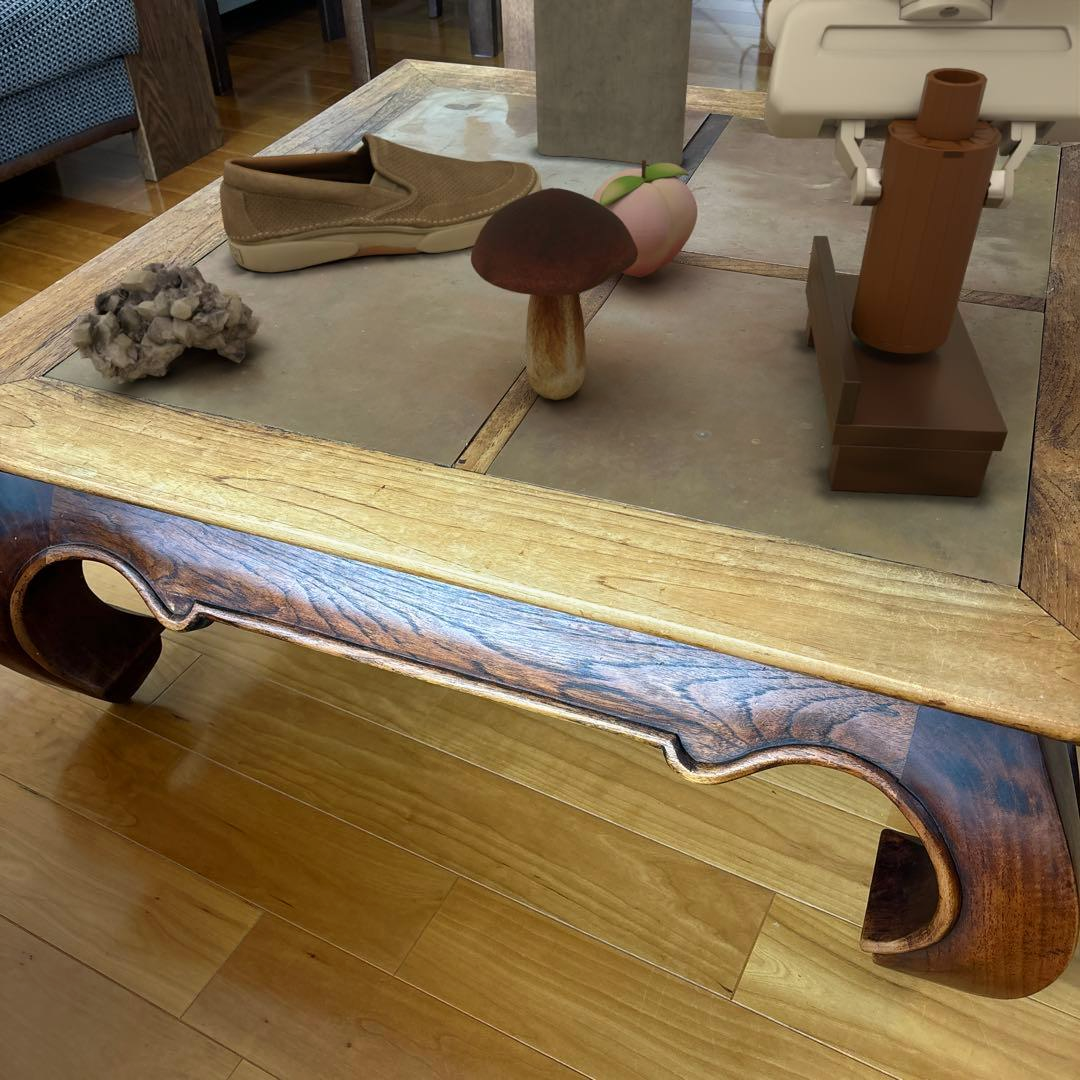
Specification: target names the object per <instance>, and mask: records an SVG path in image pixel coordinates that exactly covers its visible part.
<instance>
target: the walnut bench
mask: <svg viewBox="0 0 1080 1080" xmlns="http://www.w3.org/2000/svg"><path fill="white" fill-rule="evenodd" d="M859 275H860V274H837V272H836V267H835V262H834V258H833V255H832V251H831V246H830V241H829V237H828V236H827V235H814V236H813V239H812V245H811V252H810V260H809V264H808V270H807V278H806V282H805V283H806V284H805V291H804V292H805V297H806V303H807V310H808V312H807V313H808V314H807V318H806V319H807V321H806V327H805V332H804V333H805V339H806V344H807V346H809V347H811V346H812V347H814V349H815V354H816V360H817V361H816V362H817V366H818V372H819V377H820V383H821V389H822V396H823V401H824V406H825V412H826V418H827V423H828V429H829V435H830V440H831V444H832V450H831V455H830V460H829V464H828V465H829V466H828V471H827V472H828V477H829V484H830V489H831V491H849V492H867V493H868V492H870V493H890V494H911V495H912V494H914V495H931V496H932V495H933V496H953V497H954V496H955V497H957V496H958V497H976V498H978V497H979V495H980V493H981V489H982V486H983V483H984V481H985V477H986V475H987V474H986V473H987V470H988V467H989V464H990V461H991V458H992V455H993V452H1002V451H1003V448H1004V446H1005V442H1006V439H1007V435H1008V433H1009V432H1008V428H1007V426H1006V423H1005V421H1004V418H1003V416H1002V413H1001V411H1000V409H999V406H998V404H997V400H996V399H995V396H994V393H993V391H992V388H991V386H990V383H989V381H988V378H987V376H986V373H985V371H984V368H983V367H982V363H981V362H980V359H979V357H978V354H977V352H976V348H975V347H974V344H973V341H972V339H971V336H970V334H969V332H968V329H967V327H966V324H965V321H964V320H963V316H962V314H961V312H960V309H959V307H958V306H957V307H956V311H955V315H954V318H953V322H952V326H951V329H950V331H949V335H948V338H947V340H946V342H945V343H944V344H943V345H942V346H941V347H939V348H937V349H935V350H932V351H929V352H924V353H916V354H902V353H893V352H888V351H884V350H880V349H877V348H874V347H872V346H870V345H868V344H866V343H864V342H863V341H861V340H860V339H858V338H857V337H856V336H855V334H854V333H853V331H852V329H851V321H852V311H853V306H854V301H855V296H856V291H857V285H858V280H859Z"/></svg>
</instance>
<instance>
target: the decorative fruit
mask: <svg viewBox="0 0 1080 1080" xmlns="http://www.w3.org/2000/svg"><path fill="white" fill-rule="evenodd" d="M678 176H687V177H688V176H690V174H689V173H688V172H687V171H686V170H685V169H684V168H683V167H681V165H680V166H678V165H675V164H671V163H657V164H653V165H646V160H642V164H641V168H640V167H638V168H631V169H626V170H622V171H619V172H618V173H616V174H614V175H612V176H611V177H609V178H608V179H606V180H605V181H604V182H603V183H602V184H601V185H600V186H599V187H598V188H597V189H596V191H595V192H594V193H593V196H592V197H591V199H593V200H595V201H596V202H598V203H599V204H601V205H603V206H604V207H606V208H607V209H609V210H610V211H612V212H613V213H614V214H615V215H617V216H618V217H619V218H620V219H621V220H622V222H623V223H624V224H625V226H626V227H627V229H628V231H629V232H630V234H631V236H632V238H633V240H634V242H635V244H636V246H637V250H638V257H637V260H636V262H635V263H634V264H633V265H632V266H631V267H630V268H629V269H627V270H625V271H623V272H621V273H622V274H626V275H628V276H633V277H637V278H643V277H646V276H647V275H650V274H652V273H654V272H655V271H657V270H659V269H661V268H664V267H665V266H666V265H668V264H669V263H670V262H672V261H673V259H675V258H676V257H677V256H678V254H679V253H681V251H682V250H683V248H684V247H685V245H686V244H687V243H688V241H689V239H690V237H691V235H692V234H693V231H694V230H695V228H696V227H695V226H696V224H697V219H698V205H697V202H696V199H695V196H694V194H693V192H692V190H691V189H690V187H689V186H688V185H687V184H686V183H685V182H684V181H683V180H682V179H680V178H679V177H678Z"/></svg>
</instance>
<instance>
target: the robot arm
mask: <svg viewBox="0 0 1080 1080" xmlns="http://www.w3.org/2000/svg"><path fill="white" fill-rule="evenodd" d="M763 24H764V25H763V26H764V27H763V38H764V42H765V44H766V47H767V48H768V49H769V51H770V52H771V53H772V54H773V58H772V62H771V67H770V72H769V77H768V81H767V88H766V93H765V103H764V109H763V110H764V111H763V124H764V126H765V127H766V128H767V129H768V130H769V132H770V133H771V135H773V137H775V138H777V139H806V140H807V139H811V140H814V139H815V140H817V139H819V140H821V139H822V140H834V152H833V153H834V156H835V158H836V159H837V161H838V163H839V164H840V166H841V168H842V170H843V171H844V173H845V174H846V176H847V178H848V180H850V181H851V185H850V186H851V188H850V189H851V190H850V205H851V206H852V207H873V206H876V204H877V202H878V201H879V200H880V197H881V191H882V186H881V184H880V181H881V180H882V168H880V167H869V165H868V163H867V160H866V159H865V157H864V155H863V153H862V151H861V150H860V147H861V144H862V143H863V140H879V141H880V140H884V141H885V140H886V135H887V129H888V126H889V125H890V124H891V123H892V121H893V120H896V119H902V120H917V115H918V111H919V106H920V101H921V96H922V91H923V87H924V82H925V77H926V74H927V73H929V72H930V71H931V70H936V69H941V68H961V69H968V70H973V71H976V72H979V73H981V74H984V75H985V76H986V78H987V84H986V88H985V92H984V96H983V100H982V104H981V108H980V112H979V116H978V120H982V121H985V122H987V123H989V124H990V125H992V126H994V127H996V128H997V129H998V130H999V132H1000V134H1001V135H1002V137H1001V141H1000V145H999V149H998V155H999V156H1000V157H1008V158H1007V159H1006V161H1005V162H1004V164H1003V165H1002V167H1001V168H1000V169H993V171H992V175H991V179H990V183H989V186H988V190H987V194H986V198H985V202H984V205H983V209H996V210H1003V209H1004V210H1005V209H1006V208H1007V207H1008V206H1009V205H1010V204H1011V203H1012V201H1013V198H1014V192H1015V173H1016V172H1017V170H1018V168H1019V167H1020V166H1021V164H1022V163H1023V162H1024V160H1025V158H1026V157H1027V155H1028V153H1029V152H1030V150H1031V149H1032V147H1033V146H1034V144H1035V142H1037V143H1038V142H1039V143H1040V142H1042V143H1080V0H770V1H769V2H768V4H767V6H766V8H765V11H764V23H763Z"/></svg>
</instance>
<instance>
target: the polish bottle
mask: <svg viewBox="0 0 1080 1080" xmlns="http://www.w3.org/2000/svg"><path fill="white" fill-rule="evenodd" d="M986 84H987V78H986V76H985V75H984V74H981V73H979V72H976V71H973V70H968V69H961V68H941V69H936V70H931V71H930V72H929V73H927V74H926V77H925V82H924V87H923V91H922V96H921V101H920V106H919V111H918V115H917V120H902V119H896V120H893V121H892V123H891V124H890V125H889V126H888V129H887V135H886V140H884V144H883V145H884V146H883V150H882V156H881V160H880V167H879V168H882V180H881V181H880V184H881V186H882V191H881V197H880V200H879V201H878V202H877V204H876V206H871V207H872V208H871V213H870V217H869V218H870V219H869V223H868V229H867V234H866V240H865V244H864V249H863V255H862V260H861V264H860V271H859V274H858V275H859V280H858V285H857V291H856V296H855V301H854V306H853V311H852V321H851V329H852V331H853V333H854V334H855V336H856V337H857V338H858V339H860V340H861V341H863V342H864V343H866V344H868V345H870V346H872V347H874V348H877V349H880V350H884V351H888V352H893V353H902V354H916V353H924V352H929V351H932V350H935V349H937V348H939V347H941V346H942V345H943V344H944V343H945V342H946V340H947V338H948V335H949V331H950V329H951V326H952V322H953V318H954V315H955V311H956V307H958V304H959V299H960V295H961V292H962V287H963V284H964V280H965V278H966V272H967V269H968V266H969V262H970V257H971V254H972V250H973V247H974V242H975V238H976V236H977V235H976V234H977V233H978V227H979V225H980V220H981V216H982V213H983V209H984V208H983V205H984V202H985V198H986V194H987V190H988V186H989V183H990V179H991V175H992V171H993V170H994V167H995V165H996V164H995V163H996V160H997V156H998V153H999V145H1000V141H1001V137H1002V135H1001V134H1000V132H999V130H998V129H997V128H996V127H994V126H992V125H990V124H989V123H987V122H985V121H982V120H978V116H979V112H980V108H981V104H982V100H983V96H984V92H985V88H986Z"/></svg>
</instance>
